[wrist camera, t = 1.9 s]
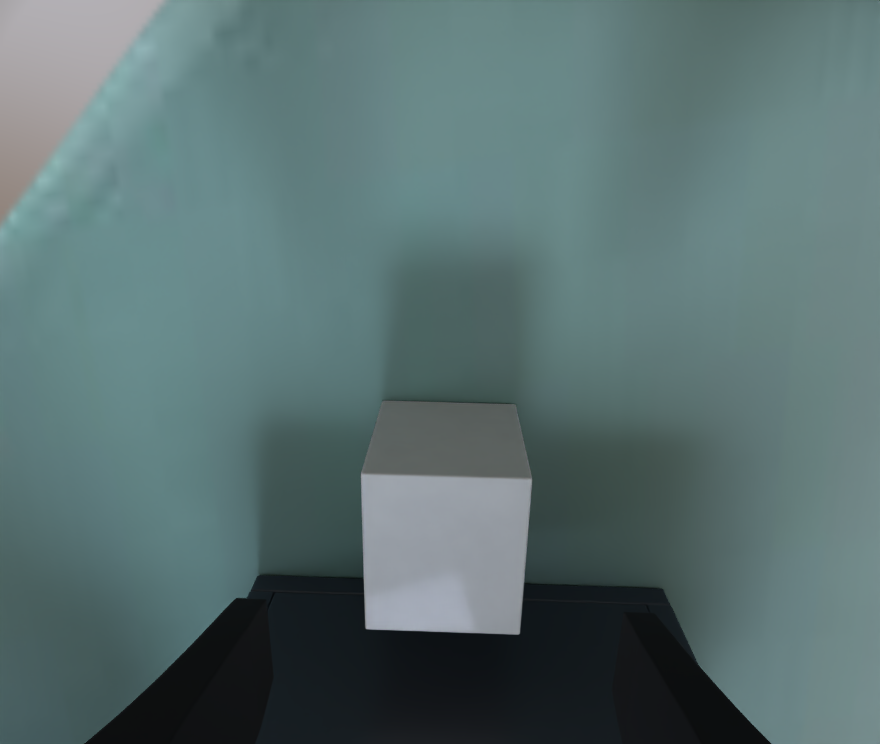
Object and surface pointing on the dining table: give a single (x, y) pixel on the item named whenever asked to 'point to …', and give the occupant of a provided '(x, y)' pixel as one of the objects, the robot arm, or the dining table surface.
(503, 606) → the grey block
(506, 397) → the dining table surface
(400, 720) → the open box
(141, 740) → the robot arm
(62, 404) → the dining table surface
